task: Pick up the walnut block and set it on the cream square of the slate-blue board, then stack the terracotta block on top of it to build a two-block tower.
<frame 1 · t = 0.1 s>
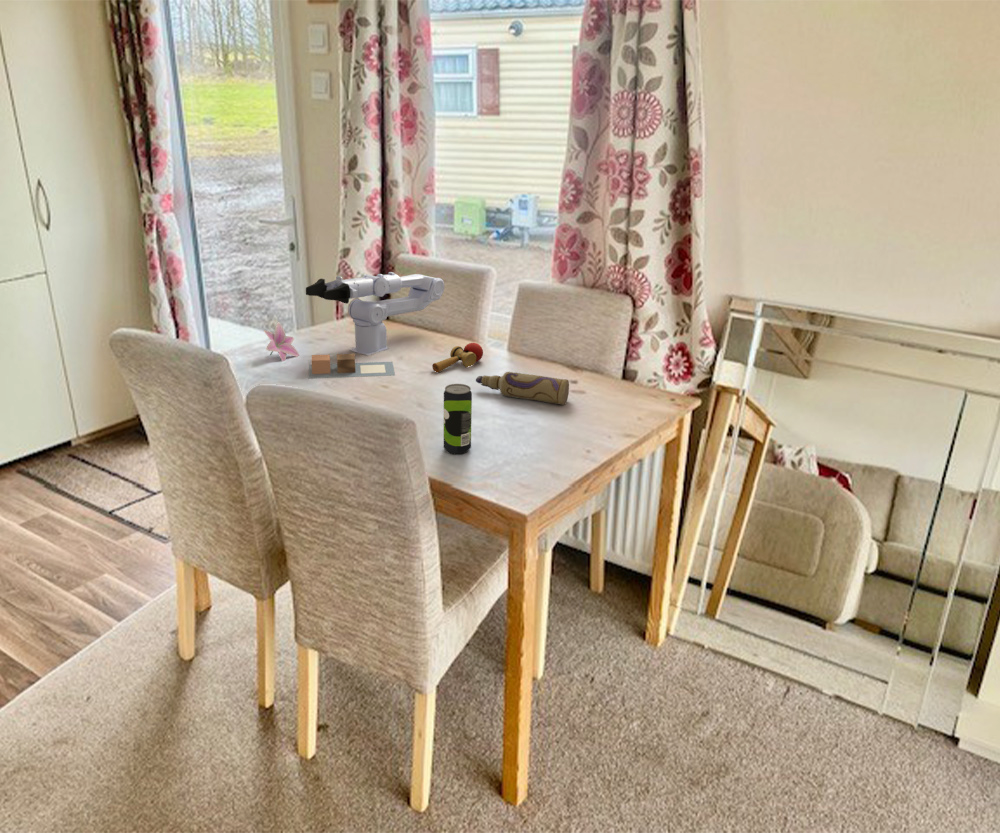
hand: (315, 293, 219), 22 cm above the table, tool horizontal, fingers open, 7 cm apart
decorative bottle: (524, 397, 211), on the table
kendama: (458, 367, 232), on the table
walnut block: (346, 369, 224), resting on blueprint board
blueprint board: (351, 371, 225), on the table
terracotta block: (321, 370, 223), resting on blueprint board
lily: (281, 359, 233), on the table
beverage can: (457, 450, 178), on the table
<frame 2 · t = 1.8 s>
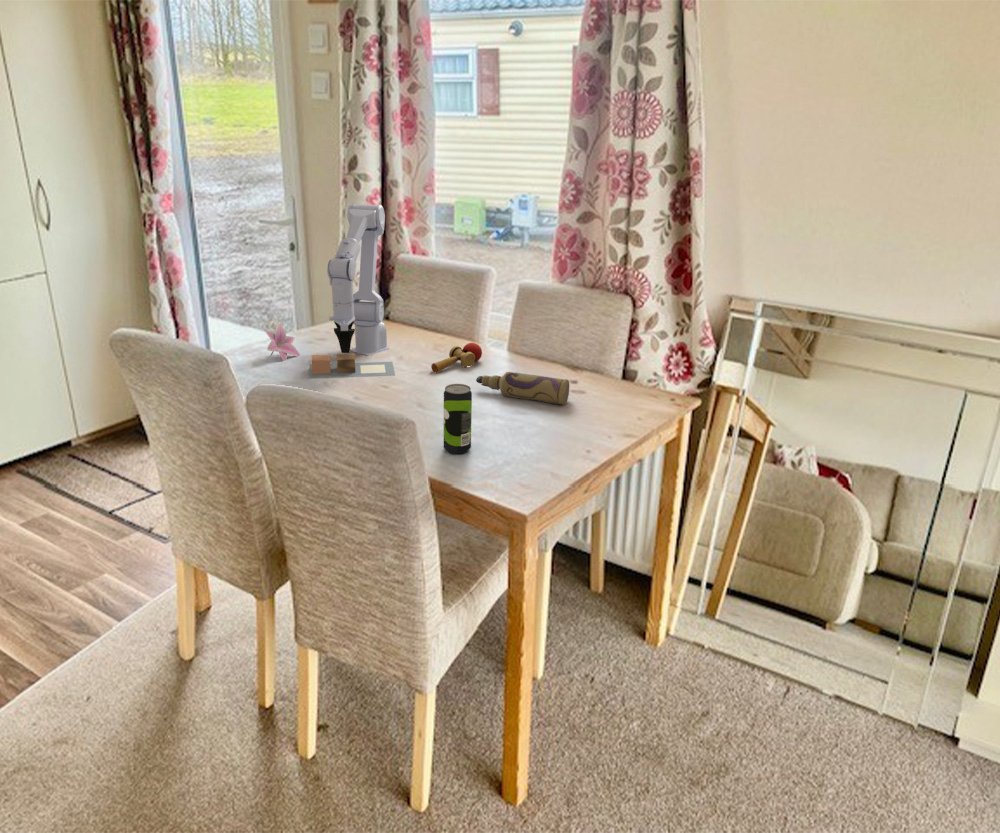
hand: (345, 348, 222), 7 cm above the table, tool pointing down, fingers open, 7 cm apart
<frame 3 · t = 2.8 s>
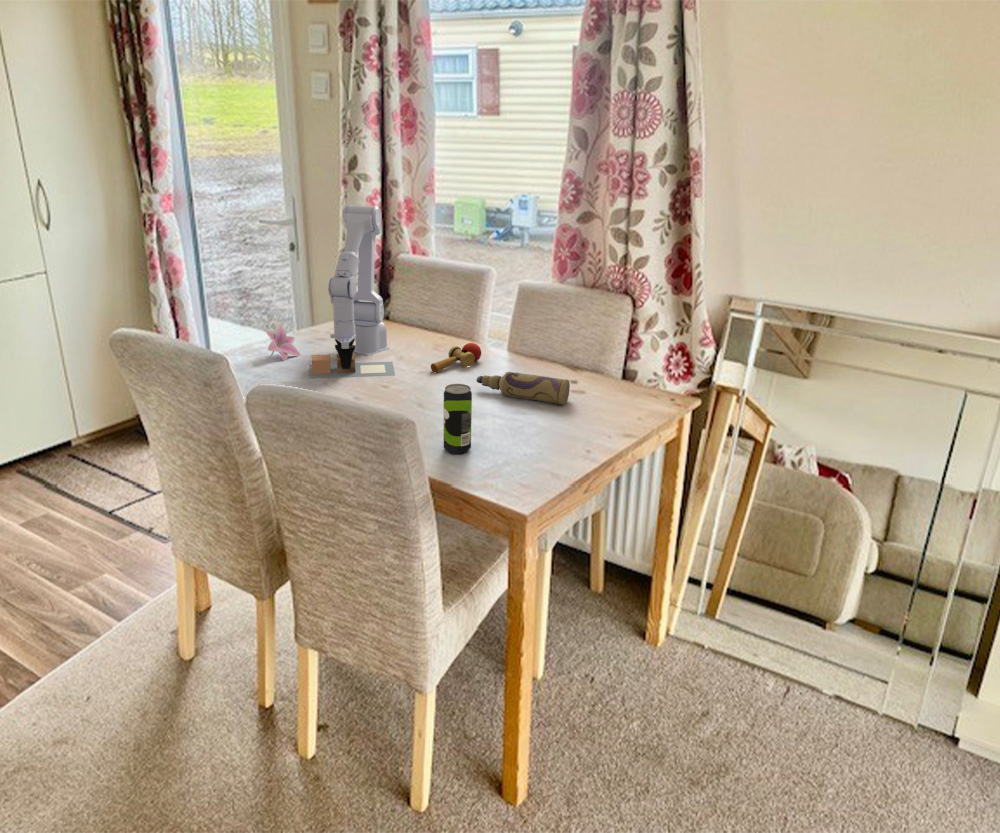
hand: (346, 365, 224), 2 cm above the table, tool pointing down, fingers closed on walnut block, 5 cm apart
walnut block: (346, 369, 224), resting on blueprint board, touching gripper
everything else where it was.
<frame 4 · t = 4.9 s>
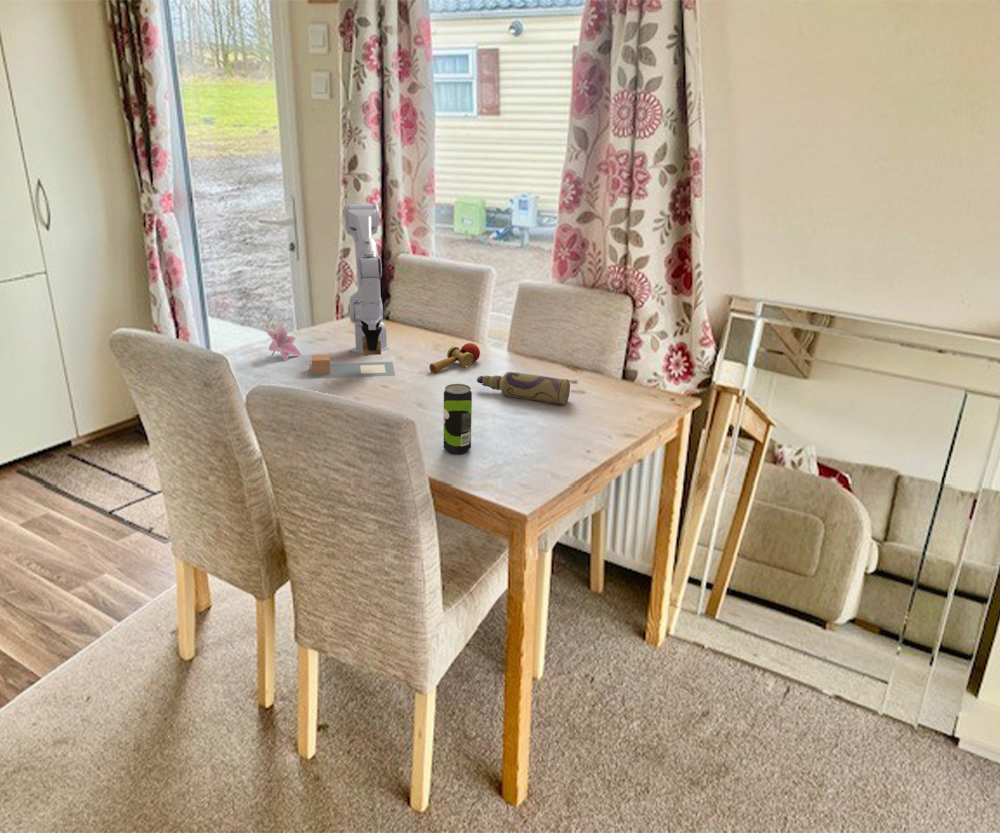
hand: (372, 347, 223), 7 cm above the table, tool pointing down, fingers closed on walnut block, 5 cm apart
walnut block: (371, 352, 223), point 6 cm above the table, touching gripper
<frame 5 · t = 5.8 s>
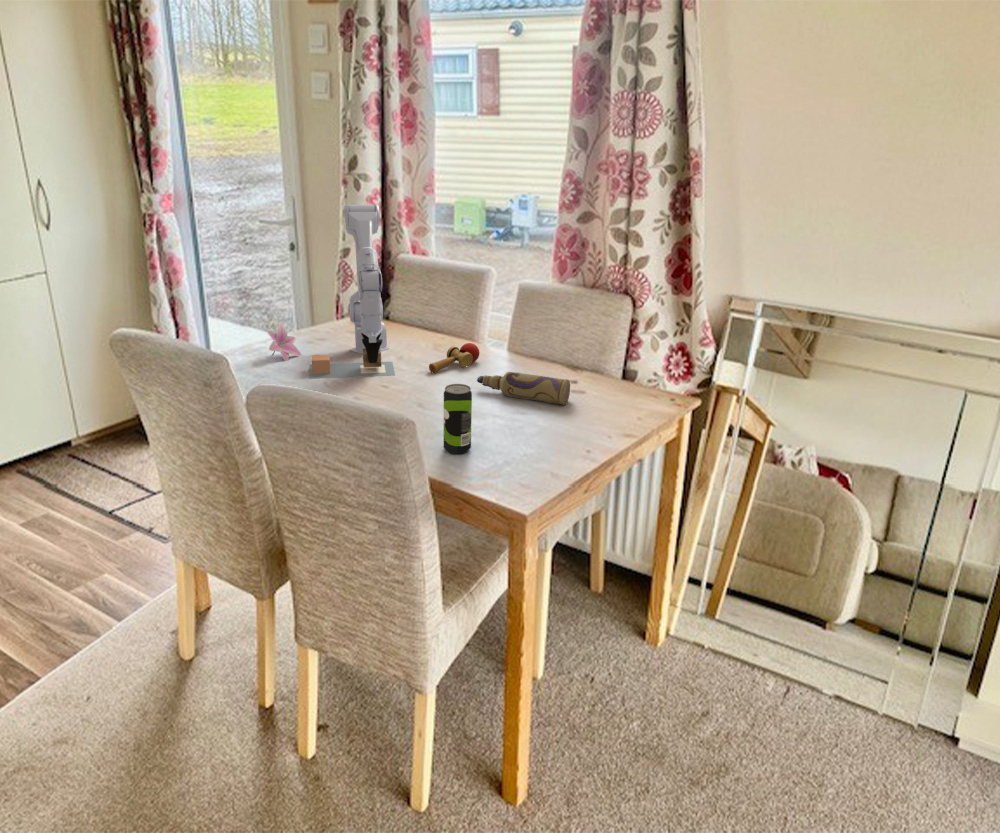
hand: (372, 359, 224), 3 cm above the table, tool pointing down, fingers closed on walnut block, 5 cm apart
walnut block: (372, 364, 225), point 2 cm above the table, touching gripper
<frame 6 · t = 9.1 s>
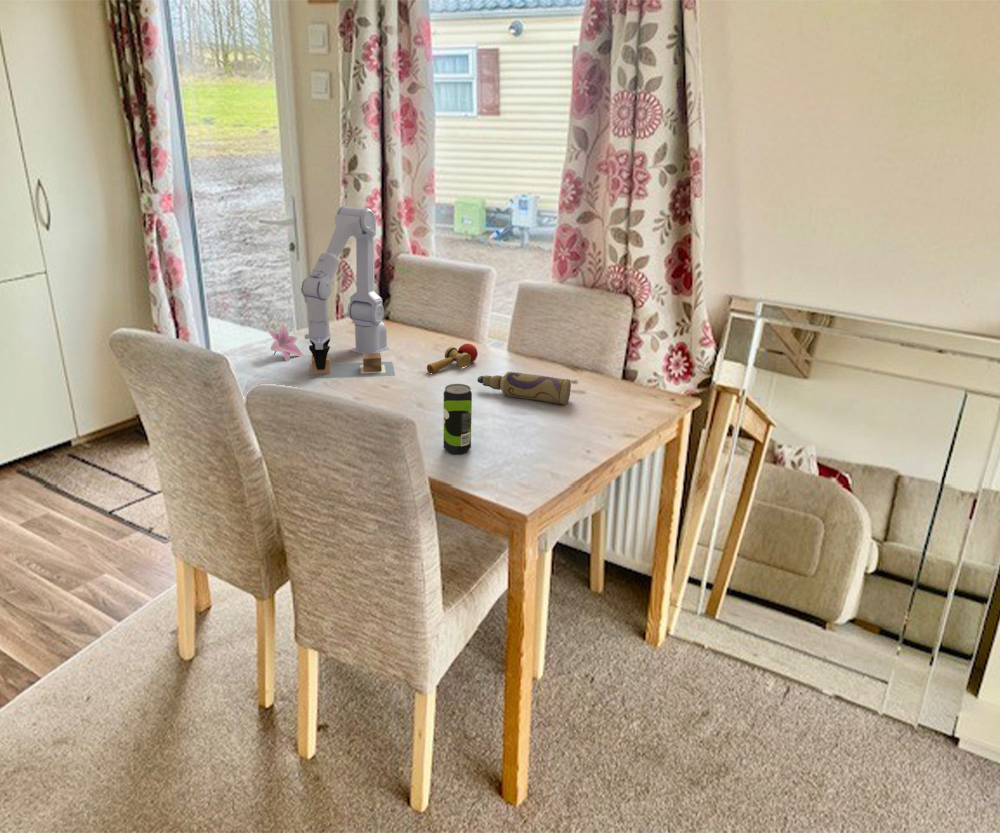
hand: (321, 366, 222), 2 cm above the table, tool pointing down, fingers closed on terracotta block, 5 cm apart
walnut block: (372, 368, 226), resting on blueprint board
terracotta block: (321, 370, 223), resting on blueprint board, touching gripper
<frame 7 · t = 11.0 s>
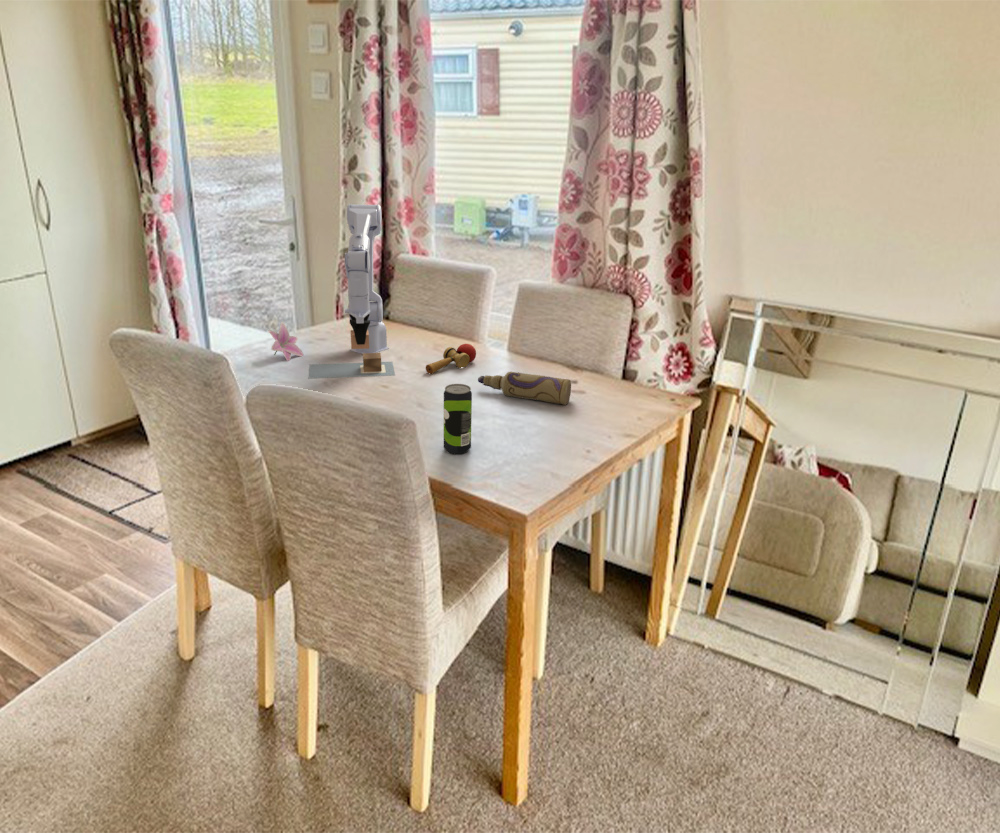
hand: (360, 341, 222), 9 cm above the table, tool pointing down, fingers closed on terracotta block, 5 cm apart
terracotta block: (360, 346, 222), point 7 cm above the table, touching gripper
when the fingers open (7 cm above the table, at t = 12.2 s): terracotta block drops 1 cm, resting on walnut block.
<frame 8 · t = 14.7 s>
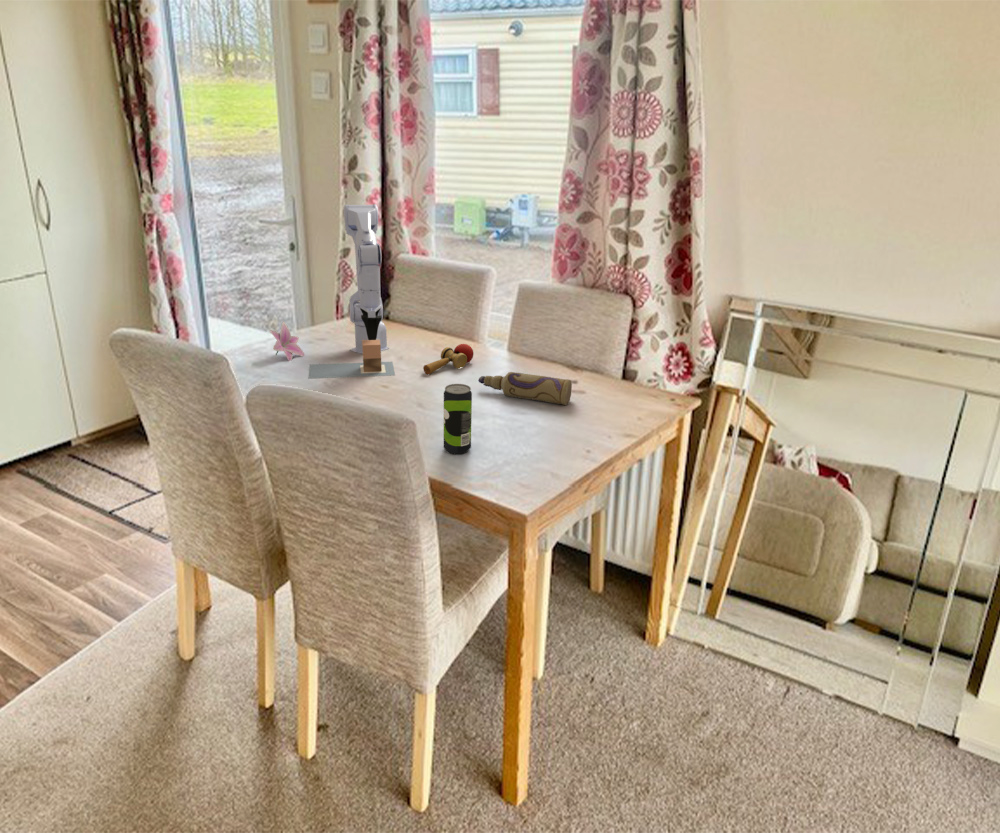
hand: (371, 335, 222), 10 cm above the table, tool pointing down, fingers open, 7 cm apart
walnut block: (372, 368, 226), resting on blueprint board, touching terracotta block
terracotta block: (371, 355, 224), point 4 cm above the table, touching walnut block
at the end: walnut block 0.1 cm from the target spot, resting on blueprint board; terracotta block 0.1 cm off-centre on the walnut block, point 4.0 cm above the walnut block's base; terracotta block tilted 0° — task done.
